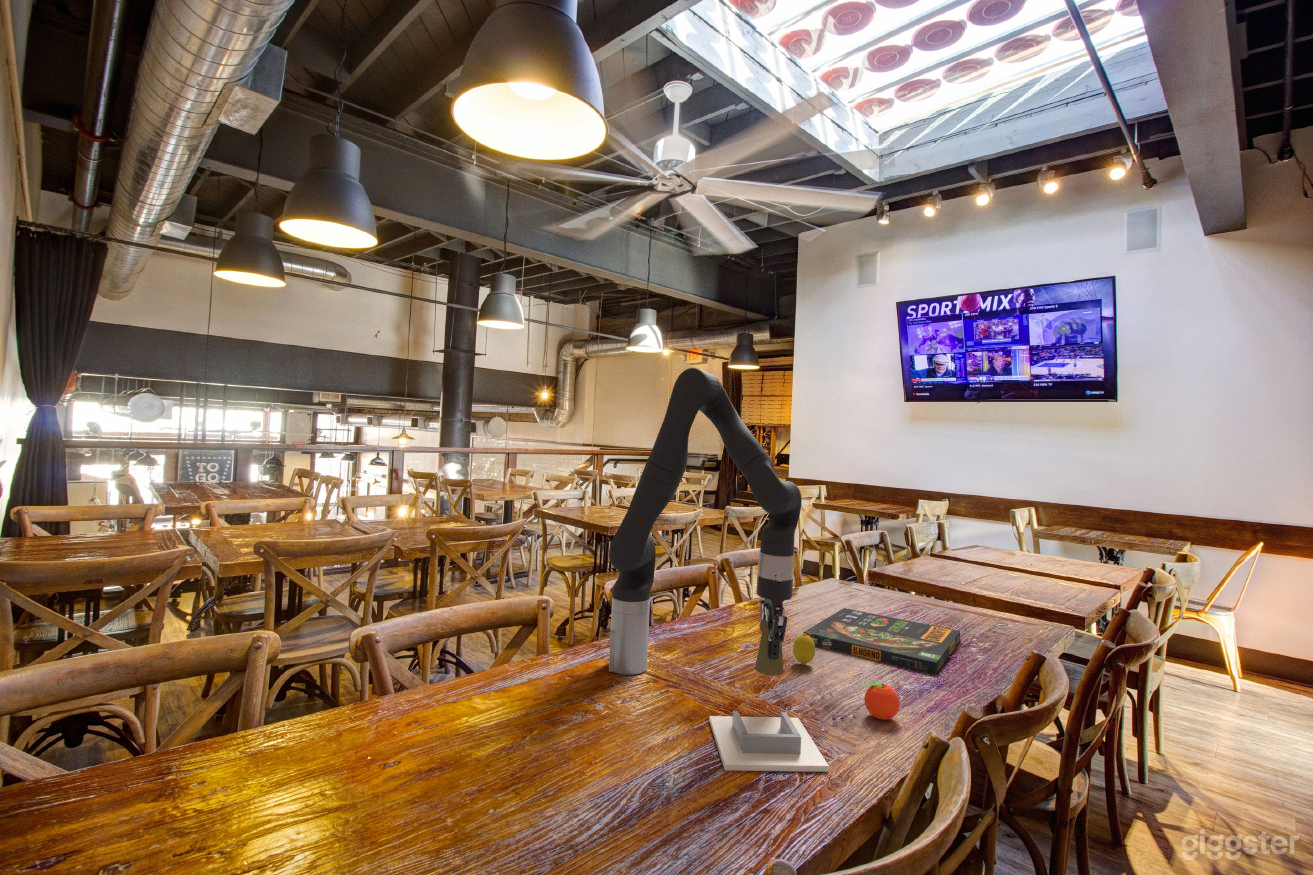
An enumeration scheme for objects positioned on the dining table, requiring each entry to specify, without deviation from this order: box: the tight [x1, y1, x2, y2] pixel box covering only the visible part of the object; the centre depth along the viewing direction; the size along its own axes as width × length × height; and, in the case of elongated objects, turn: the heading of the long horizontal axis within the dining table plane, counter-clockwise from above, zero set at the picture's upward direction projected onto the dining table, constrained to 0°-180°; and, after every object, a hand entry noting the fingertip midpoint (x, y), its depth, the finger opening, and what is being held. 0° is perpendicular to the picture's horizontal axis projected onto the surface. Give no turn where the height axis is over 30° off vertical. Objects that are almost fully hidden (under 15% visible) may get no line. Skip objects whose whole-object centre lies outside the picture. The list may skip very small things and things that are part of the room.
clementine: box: [859, 682, 901, 721], centre depth 125 cm, size 8×7×7 cm
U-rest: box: [708, 710, 830, 773], centre depth 111 cm, size 18×18×4 cm
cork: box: [754, 617, 785, 676], centre depth 128 cm, size 6×6×11 cm
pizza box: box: [803, 607, 961, 675], centre depth 175 cm, size 35×35×4 cm
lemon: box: [792, 632, 816, 666], centre depth 153 cm, size 6×6×8 cm
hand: (770, 654), depth 128 cm, fingers closed on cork, 4 cm apart
